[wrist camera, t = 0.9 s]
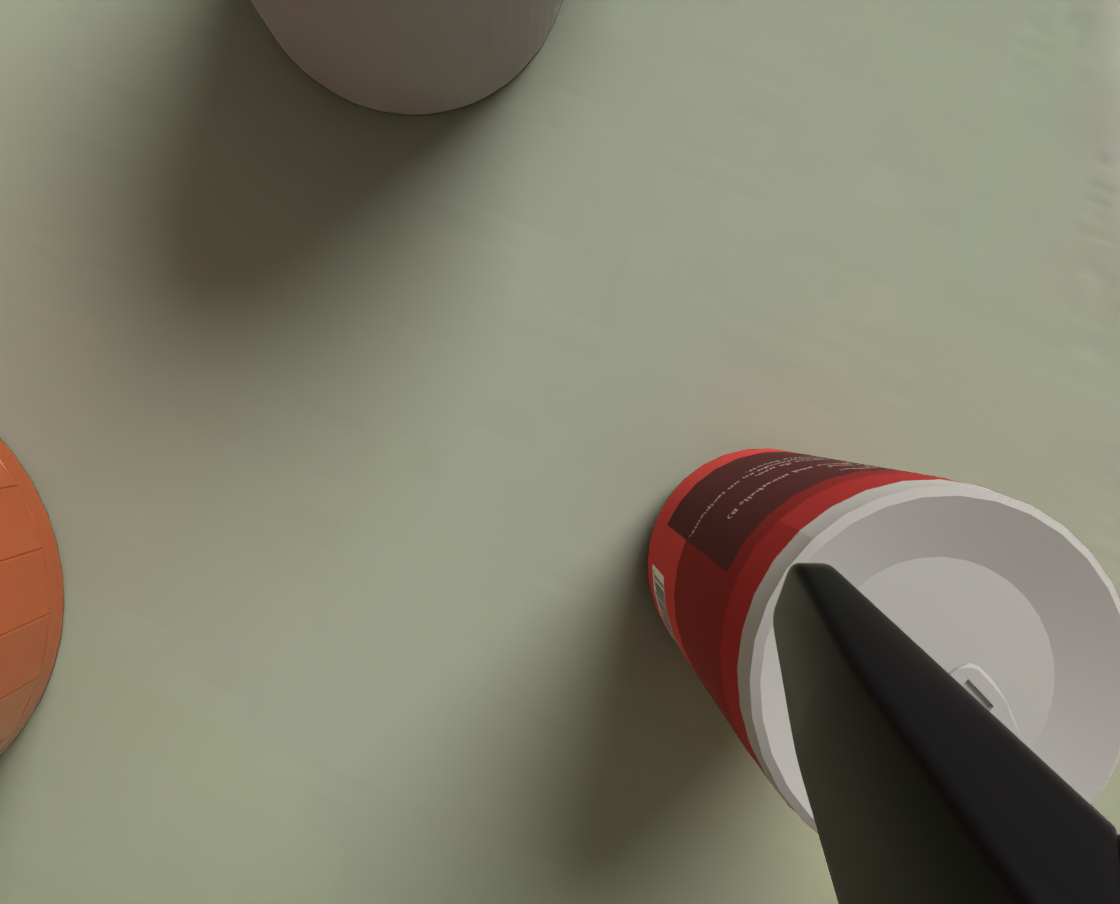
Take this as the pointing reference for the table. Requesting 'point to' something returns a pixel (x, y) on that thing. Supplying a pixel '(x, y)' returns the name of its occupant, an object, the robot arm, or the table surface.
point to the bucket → (25, 597)
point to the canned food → (892, 599)
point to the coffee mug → (410, 47)
